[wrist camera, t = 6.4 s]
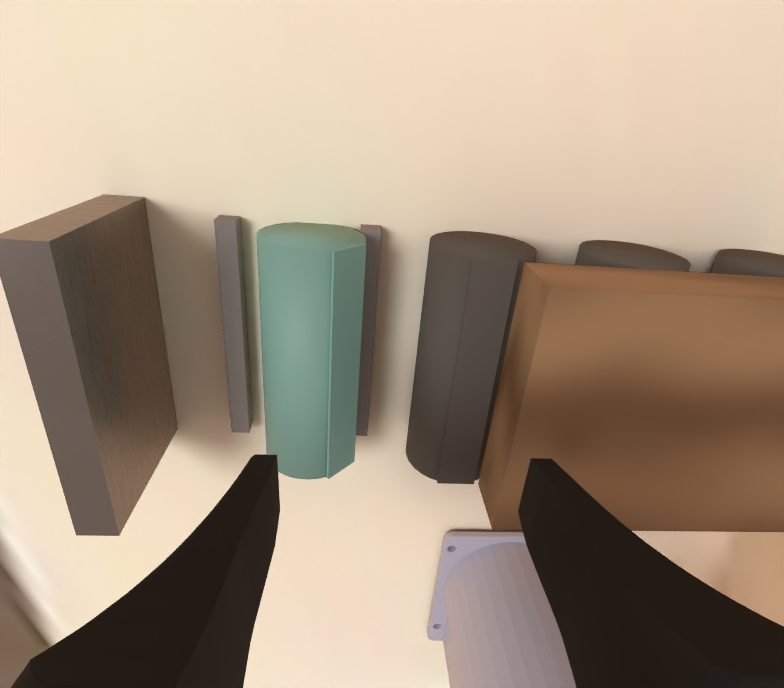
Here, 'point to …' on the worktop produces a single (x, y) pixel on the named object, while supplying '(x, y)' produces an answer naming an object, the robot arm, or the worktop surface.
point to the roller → (311, 344)
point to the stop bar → (93, 351)
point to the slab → (645, 396)
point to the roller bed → (447, 332)
